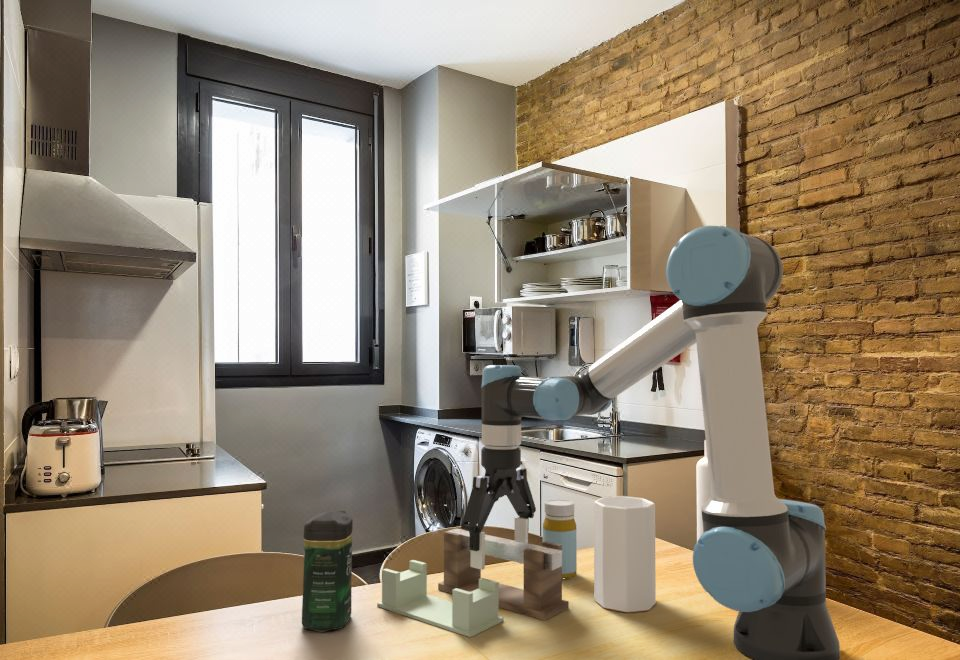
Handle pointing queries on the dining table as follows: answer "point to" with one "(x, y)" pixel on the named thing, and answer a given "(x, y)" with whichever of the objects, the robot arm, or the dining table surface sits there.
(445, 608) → the rest
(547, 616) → the rack
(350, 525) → the coffee jar
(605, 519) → the cup
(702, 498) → the bottle
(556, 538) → the bottle
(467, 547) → the rail
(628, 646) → the dining table surface
